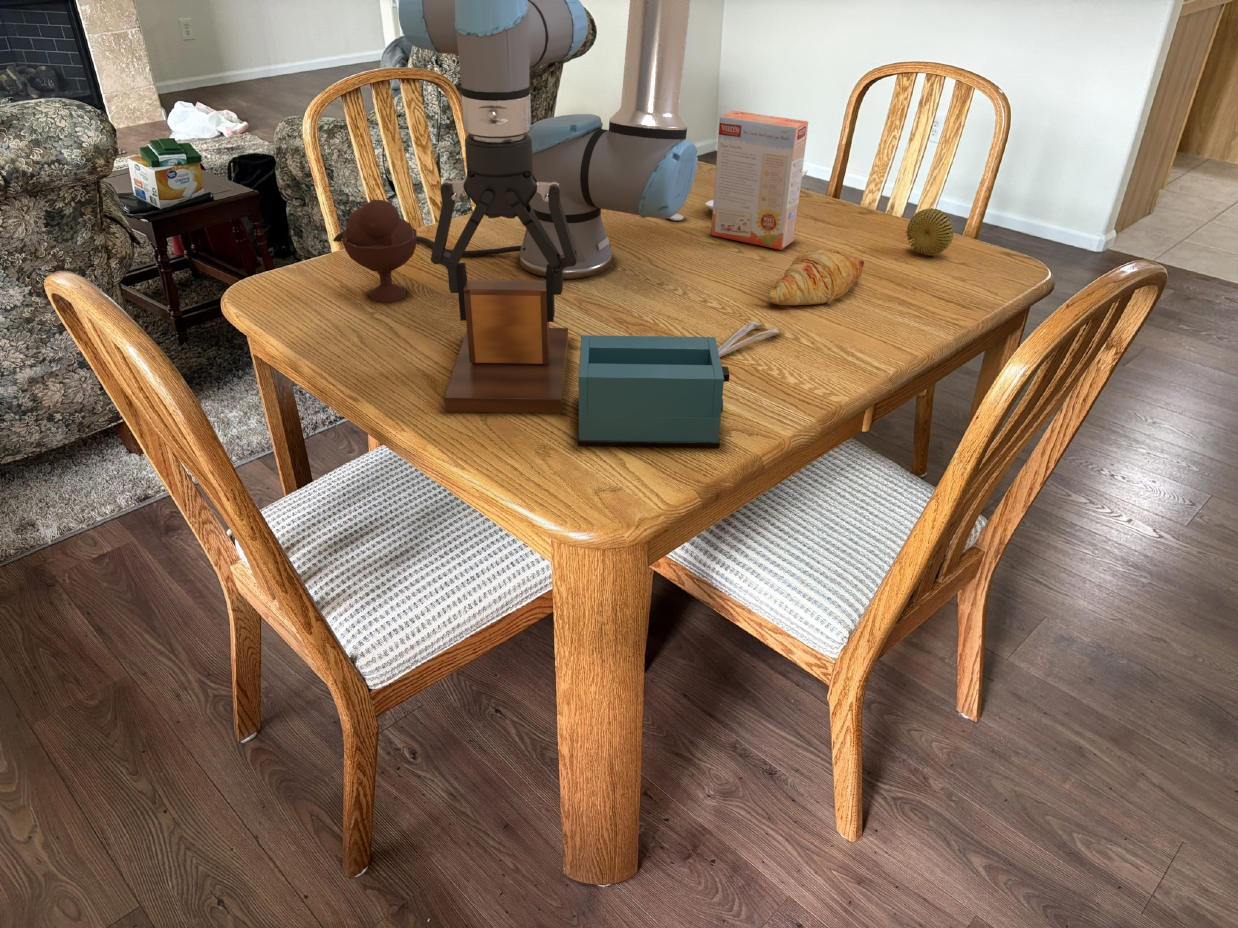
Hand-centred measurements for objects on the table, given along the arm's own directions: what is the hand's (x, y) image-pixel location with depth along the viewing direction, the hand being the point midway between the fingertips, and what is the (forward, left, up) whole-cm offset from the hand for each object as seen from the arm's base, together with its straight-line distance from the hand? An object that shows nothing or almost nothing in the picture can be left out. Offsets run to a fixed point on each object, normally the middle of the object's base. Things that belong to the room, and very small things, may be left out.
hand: (507, 316), depth 114 cm
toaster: (+21, 0, -8) cm, 23 cm away
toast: (0, 0, -6) cm, 6 cm away
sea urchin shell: (+30, +76, -8) cm, 82 cm away
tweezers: (+20, +23, -8) cm, 32 cm away
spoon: (-8, +86, -8) cm, 87 cm away
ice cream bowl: (-32, +9, -8) cm, 34 cm away
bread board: (-1, +2, -8) cm, 8 cm away
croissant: (+21, +49, -8) cm, 54 cm away
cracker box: (+2, +65, -8) cm, 65 cm away
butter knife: (-25, +68, -8) cm, 73 cm away
